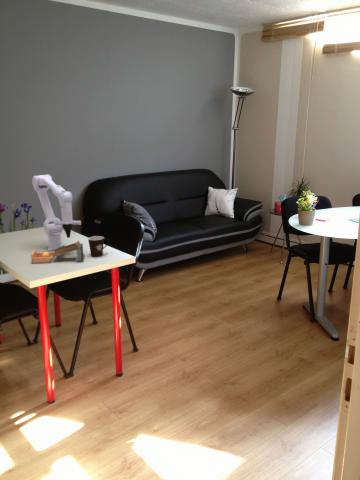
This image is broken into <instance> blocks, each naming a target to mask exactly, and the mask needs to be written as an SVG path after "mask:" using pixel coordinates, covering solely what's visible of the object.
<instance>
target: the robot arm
mask: <svg viewBox="0 0 360 480" xmlns="http://www.w3.org/2000/svg"><path fill="white" fill-rule="evenodd" d="M31 184H32V186H33V190H34V192H36V193H37V196H38V199H39V203H40V205H41V207H42V210H43V214H44V216H45V220H44V221H43V223H42V225H43V230H44V233H45V234H46V235H47V239H48V248H47V251H54V249H57V248H58V247H61V246H64V245H65V244H62V232H63V231H64V233H65V235H66V238H67V239H69V238H71V233H72V229H73V227H74V226H75V225H79V226H81V225H82V222H81V221H82V220H74V219H73V208H72V207H73V205H72V202H73V200H74V195H73V193H72V191H66V190H65V188H64V187H62V186H61V185H60V184H56V183H55V182H54V180H53V177H52V176H51V174H48V173H47V174H40V175H33V177H32V179H31ZM49 189H50V190H52V191H51V192H52V194H53V195H54V196H55V197H57V200H58V202H59V206H60V211H61V212H60V213H61V219H60V218H59V217H56V216H55V213H54V210H53V207H52V204H51V202H50V198H49V195H48V190H49Z"/></svg>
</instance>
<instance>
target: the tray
mask: <svg viewBox="0 0 360 480" xmlns="http://www.w3.org/2000/svg"><path fill="white" fill-rule="evenodd" d="M44 252H45V251H44ZM44 252H38V251H37V248H36V249H33V251H32V253H31V254H30V258H31V259H30V260H31V264H32V265H33V264H39V265H40V264H52V262H53V261H54V259H55V257H53V256H52V253H54V252H55V251H51V252H50V251H47V252H48V253H49V255H50V257H44V258H42V254H43V253H44Z"/></svg>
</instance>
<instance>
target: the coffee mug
mask: <svg viewBox="0 0 360 480" xmlns="http://www.w3.org/2000/svg"><path fill="white" fill-rule="evenodd" d="M87 239H88V246H89V251H90V256H91V257H93V258H99V257H102V256H103V254H104V249H105V248H106V247H107V246H108V245H109V244H110V239H109V238H105V237H104V236H100V235H93V236H90V237H88V238H87ZM106 240H107V243H106V245H104V241H106Z"/></svg>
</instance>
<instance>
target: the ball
mask: <svg viewBox="0 0 360 480" xmlns="http://www.w3.org/2000/svg"><path fill="white" fill-rule="evenodd" d="M48 252H49V251H44V253H43V252H42V253H43V254H42V258H44V257H50V255H49V253H48Z"/></svg>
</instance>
